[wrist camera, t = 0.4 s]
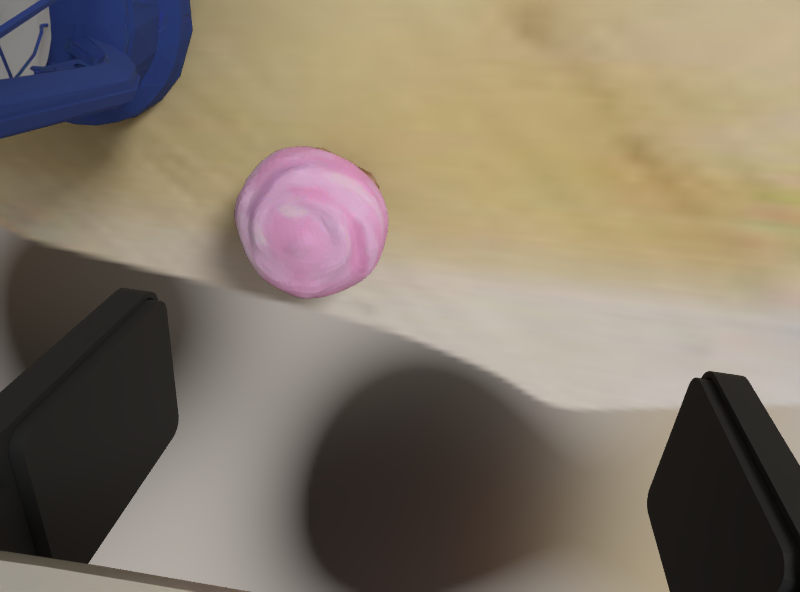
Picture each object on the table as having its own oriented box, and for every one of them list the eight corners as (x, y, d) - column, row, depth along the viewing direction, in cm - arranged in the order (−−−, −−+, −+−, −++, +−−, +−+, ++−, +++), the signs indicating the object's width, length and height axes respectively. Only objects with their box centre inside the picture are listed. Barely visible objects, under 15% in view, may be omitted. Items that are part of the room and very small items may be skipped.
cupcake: (421, 159, 40) (401, 213, 32) (372, 268, 45) (342, 343, 36) (294, 101, 40) (238, 139, 31) (256, 217, 44) (196, 280, 35)
